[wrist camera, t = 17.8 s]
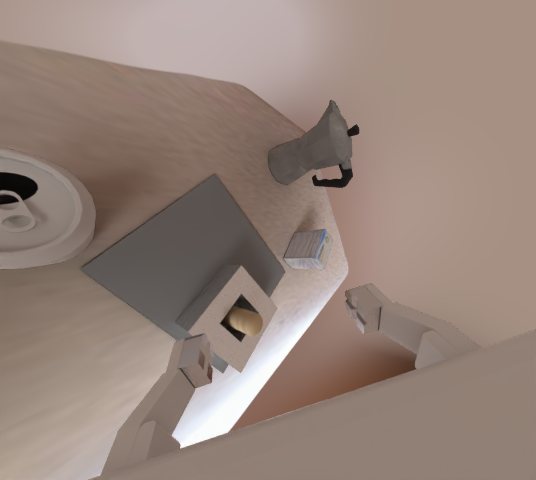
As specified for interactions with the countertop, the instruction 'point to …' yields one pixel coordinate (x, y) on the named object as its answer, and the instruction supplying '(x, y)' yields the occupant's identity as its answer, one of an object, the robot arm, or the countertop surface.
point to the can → (41, 212)
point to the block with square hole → (217, 306)
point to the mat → (184, 257)
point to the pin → (244, 320)
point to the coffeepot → (316, 151)
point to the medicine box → (309, 250)
